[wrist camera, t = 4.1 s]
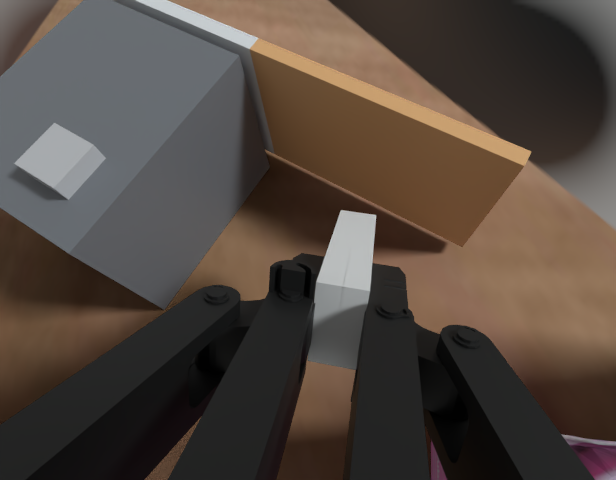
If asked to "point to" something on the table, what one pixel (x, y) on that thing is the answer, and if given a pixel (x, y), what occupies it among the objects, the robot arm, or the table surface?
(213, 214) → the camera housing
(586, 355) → the table surface
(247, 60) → the side door
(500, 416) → the robot arm
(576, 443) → the gum box
